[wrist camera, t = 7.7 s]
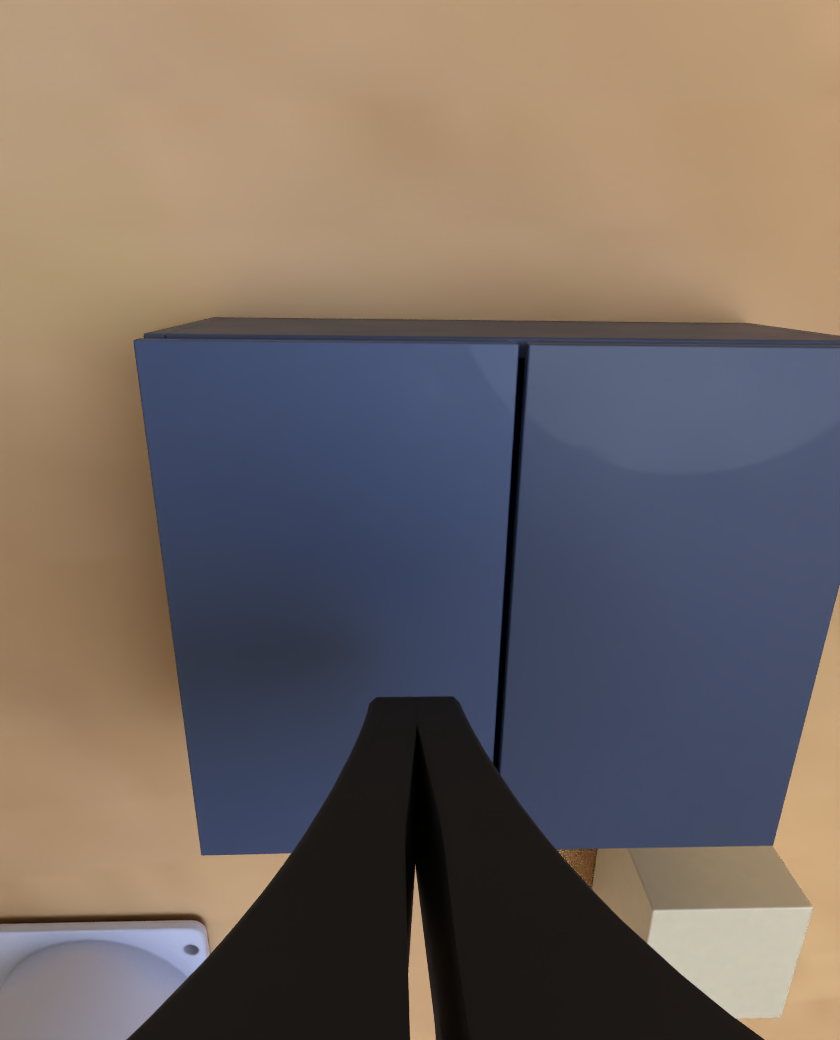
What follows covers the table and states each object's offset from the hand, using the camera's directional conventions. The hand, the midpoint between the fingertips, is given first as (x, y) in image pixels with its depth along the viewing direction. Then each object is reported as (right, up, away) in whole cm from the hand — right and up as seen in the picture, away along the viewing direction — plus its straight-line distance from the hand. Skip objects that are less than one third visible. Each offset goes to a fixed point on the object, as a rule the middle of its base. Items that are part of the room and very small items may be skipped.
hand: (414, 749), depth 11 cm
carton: (+2, +3, +8) cm, 9 cm away
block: (+9, -8, +13) cm, 17 cm away
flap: (-2, +1, +3) cm, 4 cm away
